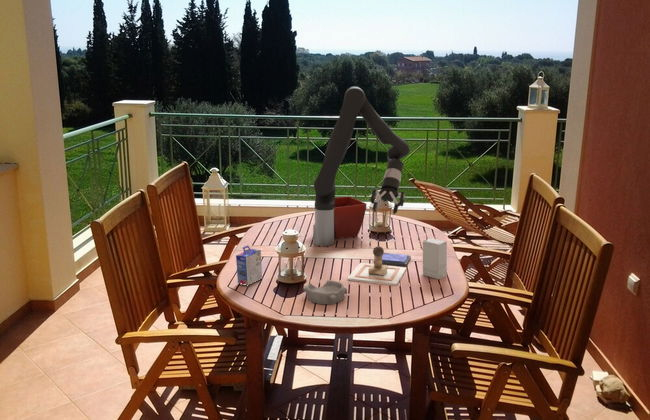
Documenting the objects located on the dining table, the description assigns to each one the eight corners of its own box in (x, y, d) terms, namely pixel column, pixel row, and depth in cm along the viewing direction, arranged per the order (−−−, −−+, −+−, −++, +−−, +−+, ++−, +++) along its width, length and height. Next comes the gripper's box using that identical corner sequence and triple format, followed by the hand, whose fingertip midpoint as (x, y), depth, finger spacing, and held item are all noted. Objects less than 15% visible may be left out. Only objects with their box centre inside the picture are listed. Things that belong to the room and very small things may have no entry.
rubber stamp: (368, 274, 255) (368, 248, 253) (372, 269, 261) (372, 243, 259) (383, 276, 253) (384, 249, 251) (387, 271, 259) (388, 245, 257)
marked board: (347, 280, 251) (347, 277, 251) (360, 264, 270) (360, 262, 270) (396, 285, 245) (396, 283, 245) (406, 269, 264) (406, 266, 264)
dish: (299, 298, 233) (298, 285, 232) (325, 289, 242) (325, 276, 241) (326, 309, 223) (326, 296, 222) (353, 299, 232) (353, 286, 231)
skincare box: (446, 276, 256) (448, 241, 252) (437, 280, 252) (439, 244, 248) (430, 271, 261) (431, 237, 258) (421, 274, 257) (422, 239, 254)
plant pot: (315, 232, 318) (315, 199, 314) (349, 227, 326) (349, 196, 322) (331, 242, 302) (331, 207, 298) (367, 237, 309) (367, 204, 305)
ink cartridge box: (251, 277, 255) (250, 242, 251) (262, 279, 252) (262, 244, 249) (236, 284, 247) (235, 249, 243) (247, 287, 244) (246, 251, 240)
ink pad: (373, 263, 272) (373, 259, 271) (379, 255, 282) (379, 251, 281) (405, 266, 267) (406, 262, 267) (410, 258, 277) (410, 254, 277)
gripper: (374, 175, 278) (366, 206, 270) (406, 177, 273) (399, 209, 266) (377, 184, 284) (369, 215, 276) (408, 187, 279) (401, 218, 272)
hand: (384, 212), depth 271 cm, fingers open, 8 cm apart
